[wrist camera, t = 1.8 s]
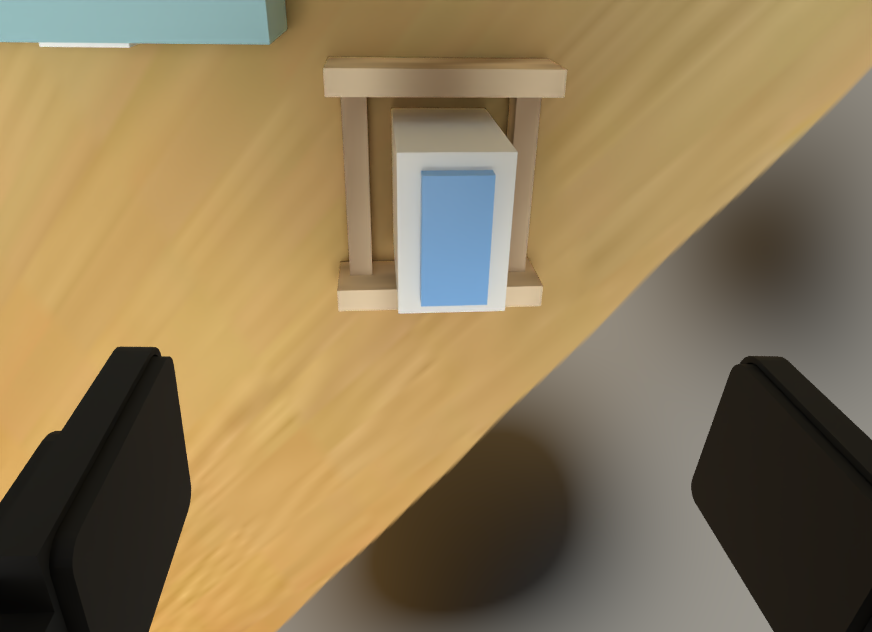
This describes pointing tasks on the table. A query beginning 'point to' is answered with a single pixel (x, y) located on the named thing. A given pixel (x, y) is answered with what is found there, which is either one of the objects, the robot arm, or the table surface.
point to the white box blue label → (451, 209)
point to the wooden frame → (435, 77)
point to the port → (141, 22)
